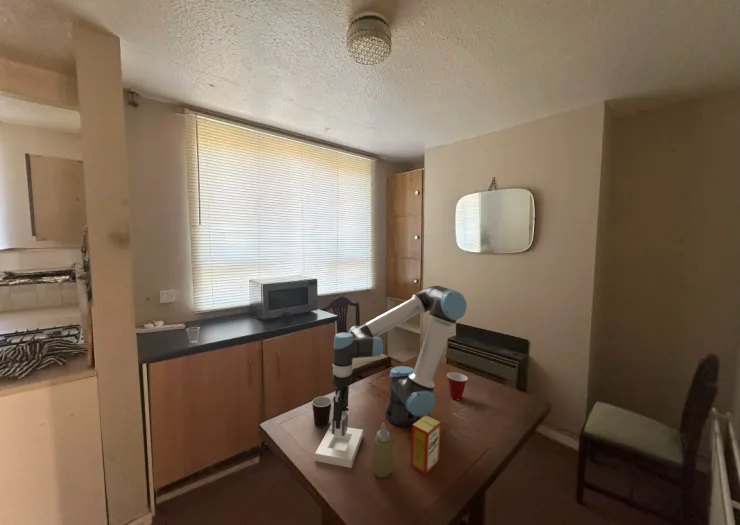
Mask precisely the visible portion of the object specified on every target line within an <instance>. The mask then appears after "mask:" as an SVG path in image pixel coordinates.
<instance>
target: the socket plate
mask: <svg viewBox="0 0 740 525" xmlns="http://www.w3.org/2000/svg"><path fill="white" fill-rule="evenodd" d="M363 437H364V430H363V429H362V428H361V429H359V428H354V427H349V426H348V428H347V431H346V434H345V436H337V435H334V434H332V424H330V426H329V427H328V429H327V431H326V433H325V435H324V437H323V439H322V440H321V442H320V444H319V445H318V448H317V449H316V451H315V453H314V461H315V462H319V463H324V464H327V465H328V464H329V465H335V466H340V467H344V468H350V469H351V468H352V467H353V465H354V461H355V458H356V456H357V453H358V451H359V447H360V445H361V442H362V440H363Z"/></svg>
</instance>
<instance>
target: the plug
mask: <svg viewBox="0 0 740 525" xmlns="http://www.w3.org/2000/svg"><path fill="white" fill-rule="evenodd" d="M331 423H332V424H331V425H332V434H334V435H335V421H333V418H332V422H331ZM348 423H349V415H348V413H347V412H346V413H343V412H342V436H345V434H346V431H347V428H348V427H349V426H348Z"/></svg>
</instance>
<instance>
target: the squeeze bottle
mask: <svg viewBox="0 0 740 525" xmlns="http://www.w3.org/2000/svg"><path fill="white" fill-rule="evenodd" d="M390 436H391V434H390V431H388V430H387V425H386V423H385V422H382V423H381V426H380V429H379V430H377V431H376V436H375V437H374V438H373V443H372V444H373V445H372V450H371V451H372V454H371V459H370V464H371V467H372V471H373V473H374V475H375V476H376V477H378V478H383V479H384V478H387V477H388V476H389V475H390V474H391V471H392V469H393V466H394V453H393V452H394V450H393V440H392V437H390Z"/></svg>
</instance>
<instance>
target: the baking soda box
mask: <svg viewBox="0 0 740 525" xmlns="http://www.w3.org/2000/svg"><path fill="white" fill-rule="evenodd" d="M411 426H412V427H411V441H410V442H411V443H410V465H409V466H410V467H412V468H414V469H416V470H417V471H418V472H420V473H421V474H423V475H424V476H426V475H427V474H428V473H429V472H430V471H431V470H432V469H434V467H435V466H436V465H437V464H438V463H439V462H440V455H441V454H440V453H441V452H440V451H441V437H442V436H441V435H442V434H441V432H442V421H440V420H438V419H437V418H434V417H432V416H430V415H428V414H426V415H424V416H421V418H420V419H417V420H416V421H415V422H414V423H413V424H411Z"/></svg>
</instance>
